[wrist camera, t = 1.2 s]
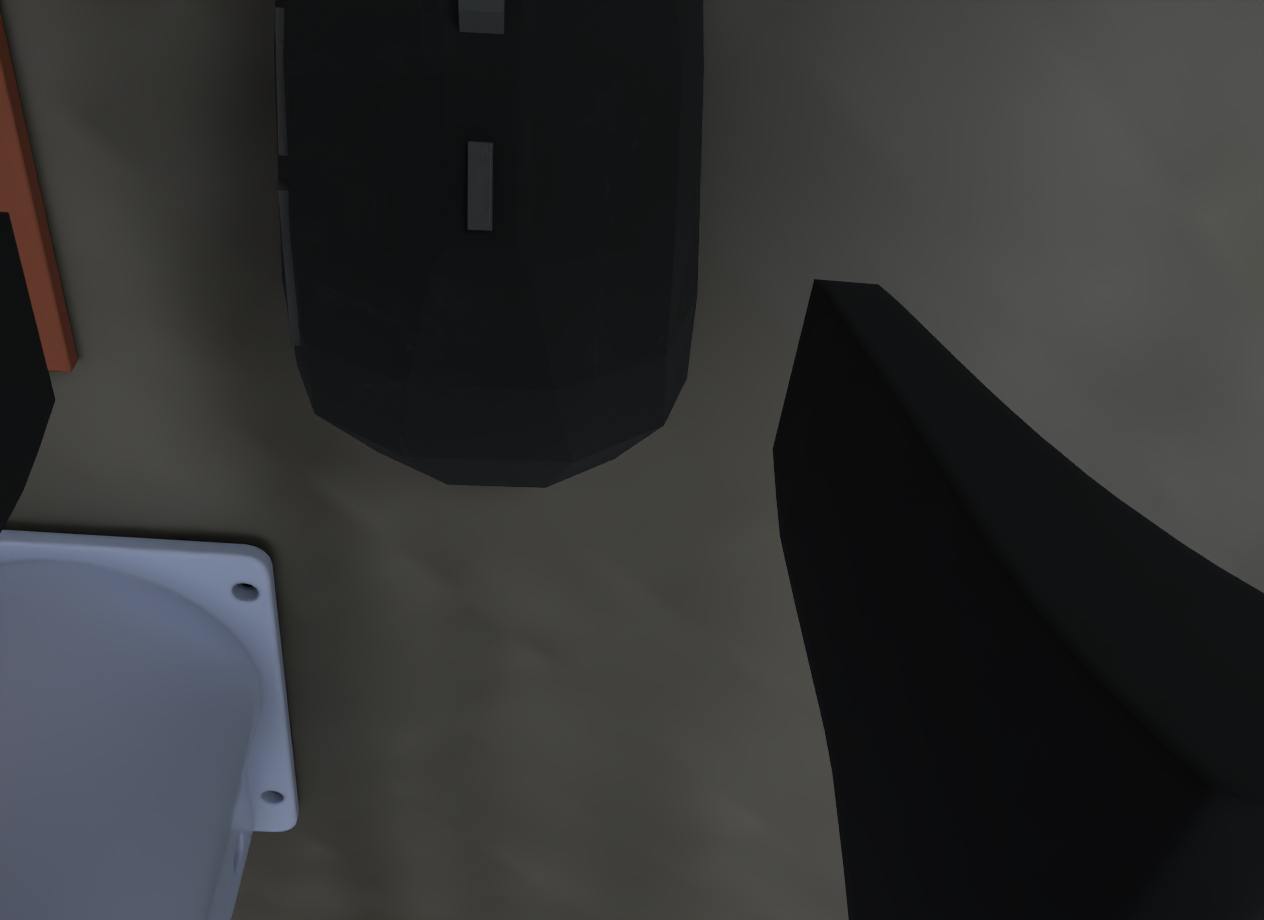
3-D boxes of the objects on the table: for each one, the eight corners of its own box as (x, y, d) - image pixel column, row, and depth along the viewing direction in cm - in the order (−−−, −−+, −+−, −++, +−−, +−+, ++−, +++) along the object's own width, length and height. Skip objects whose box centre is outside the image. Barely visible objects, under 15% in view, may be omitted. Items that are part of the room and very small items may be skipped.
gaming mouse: (781, -584, 13) (845, -602, 10) (666, 456, 22) (679, 612, 19) (193, -637, 12) (67, -675, 9) (329, 446, 22) (288, 603, 19)
